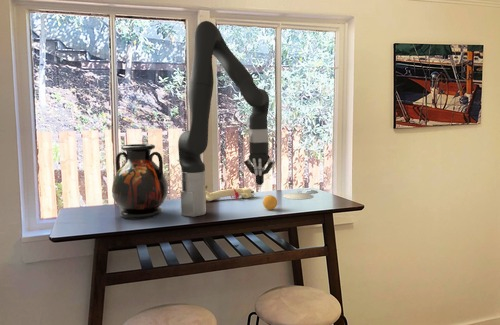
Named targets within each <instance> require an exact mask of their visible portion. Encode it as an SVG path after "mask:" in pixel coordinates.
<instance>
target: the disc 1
mask: <svg viewBox="0 0 500 325" xmlns="http://www.w3.org/2000/svg"><path fill="white" fill-rule="evenodd" d="M313 197H314V196H313V194H305V193H298V192H293V193H285V194H283V198H285V199H288V200H308V199H309V200H310V199H312V198H313Z"/></svg>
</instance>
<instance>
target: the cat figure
mask: <svg viewBox="0 0 500 325" xmlns="http://www.w3.org/2000/svg"><path fill="white" fill-rule="evenodd" d="M207 189H208V185H207V184H205V194H206V201H208V202H211V201H214V200H219V199H220V198H225V197H226V198H227V197H230V198H231V199H233V197H234V199H235V200H234V201H237V200H238V198H240V197H241V198H244V199H249V198H253V197H255V195H256V194H255V191H254V190H252V189H251V188H249V187H246V186H245V187H241V188H238V187H236V188H234V187H232V186H230V187H229V188H227V189H222V190H216V191H213V192H209V191H208V190H207Z"/></svg>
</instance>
